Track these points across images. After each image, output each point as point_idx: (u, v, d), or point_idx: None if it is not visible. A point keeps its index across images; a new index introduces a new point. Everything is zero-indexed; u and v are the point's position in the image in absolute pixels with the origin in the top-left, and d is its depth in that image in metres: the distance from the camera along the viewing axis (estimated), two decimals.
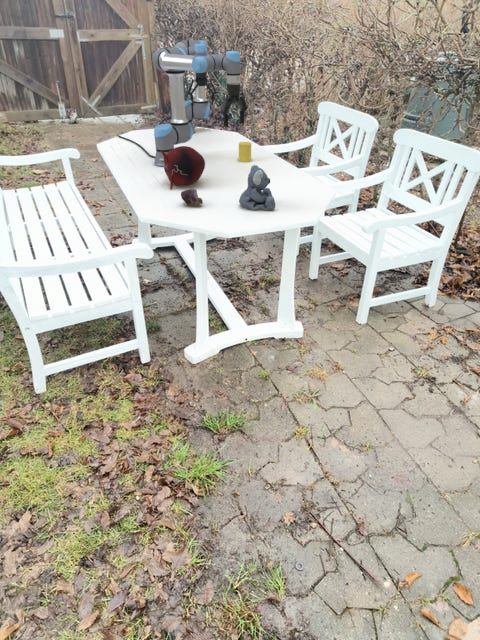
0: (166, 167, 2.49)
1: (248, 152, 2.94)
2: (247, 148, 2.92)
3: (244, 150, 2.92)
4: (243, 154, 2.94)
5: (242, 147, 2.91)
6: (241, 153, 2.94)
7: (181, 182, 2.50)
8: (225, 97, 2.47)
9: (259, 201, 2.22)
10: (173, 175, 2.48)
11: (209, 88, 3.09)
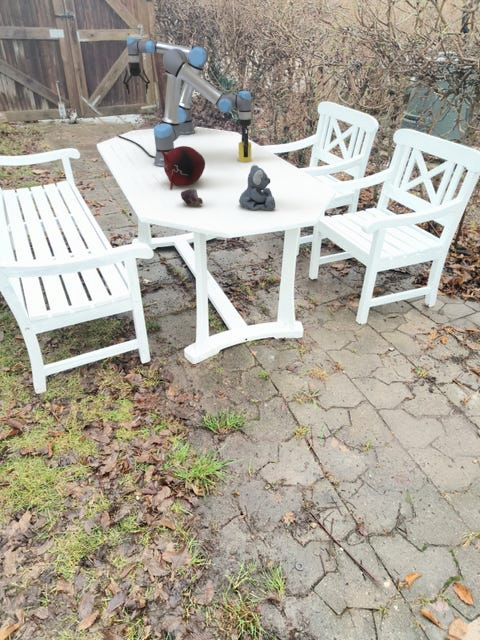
0: (166, 167, 2.49)
1: (248, 152, 2.94)
2: None
3: None
4: (243, 154, 2.94)
5: (242, 147, 2.91)
6: (241, 153, 2.94)
7: (181, 182, 2.50)
8: (246, 132, 2.84)
9: (259, 201, 2.22)
10: (173, 175, 2.48)
11: (142, 78, 3.39)
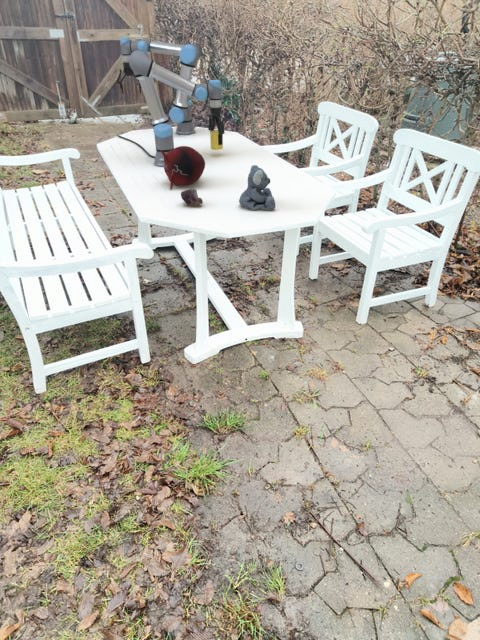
0: (166, 167, 2.49)
1: None
2: None
3: None
4: None
5: (216, 135, 2.98)
6: (215, 141, 3.00)
7: (181, 182, 2.50)
8: (221, 120, 2.91)
9: (259, 201, 2.22)
10: (173, 175, 2.48)
11: None
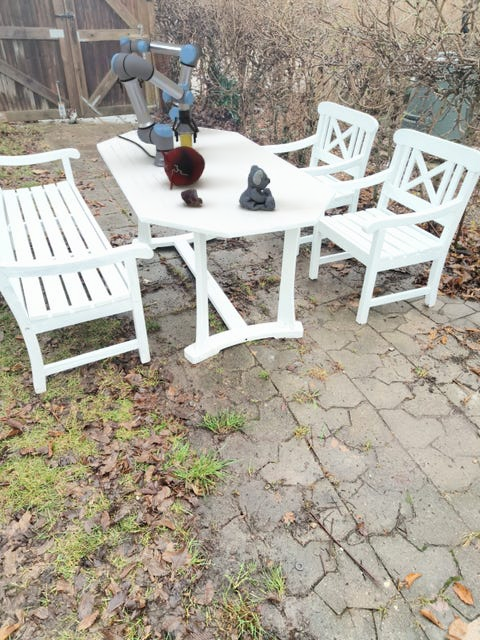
0: (166, 167, 2.49)
1: None
2: (191, 138, 3.16)
3: (191, 140, 3.15)
4: (190, 144, 3.16)
5: (189, 138, 3.13)
6: (188, 144, 3.15)
7: (181, 182, 2.50)
8: (193, 119, 3.07)
9: (259, 201, 2.22)
10: (173, 175, 2.48)
11: None
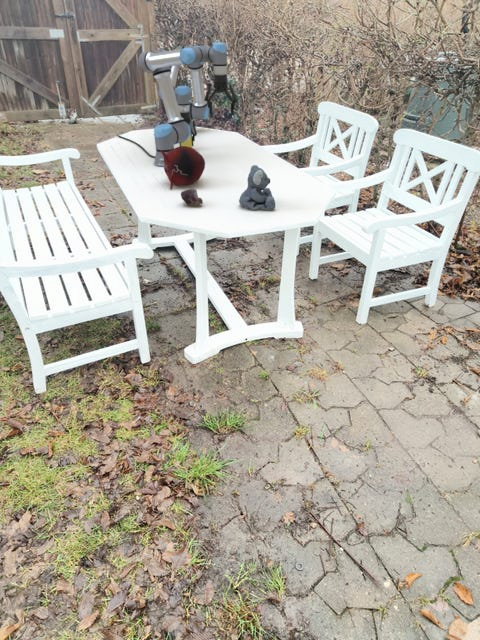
0: (166, 167, 2.49)
1: None
2: (191, 138, 3.16)
3: (191, 140, 3.15)
4: (190, 144, 3.16)
5: (189, 138, 3.13)
6: (188, 144, 3.15)
7: (181, 182, 2.50)
8: (232, 86, 2.57)
9: (259, 201, 2.22)
10: (173, 175, 2.48)
11: None
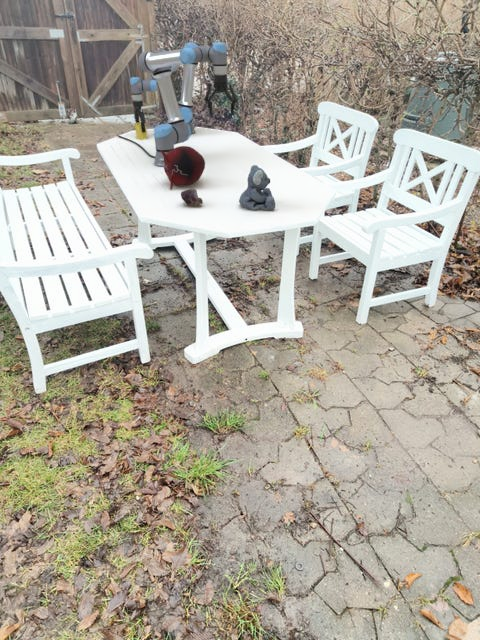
0: (166, 167, 2.49)
1: None
2: None
3: (139, 128, 3.47)
4: (138, 132, 3.49)
5: (137, 126, 3.47)
6: (137, 131, 3.49)
7: (181, 182, 2.50)
8: (232, 86, 2.57)
9: (259, 201, 2.22)
10: (173, 175, 2.48)
11: None
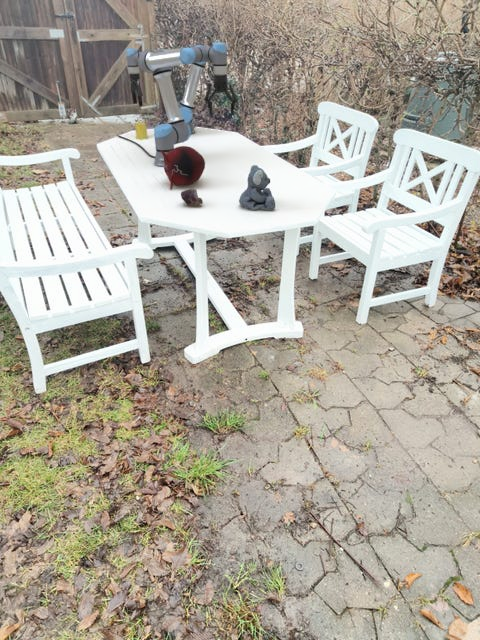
0: (166, 167, 2.49)
1: (143, 131, 3.49)
2: (141, 127, 3.47)
3: (139, 128, 3.47)
4: (138, 132, 3.49)
5: (137, 126, 3.47)
6: (137, 131, 3.49)
7: (181, 182, 2.50)
8: (232, 86, 2.57)
9: (259, 201, 2.22)
10: (173, 175, 2.48)
11: (136, 90, 3.31)
